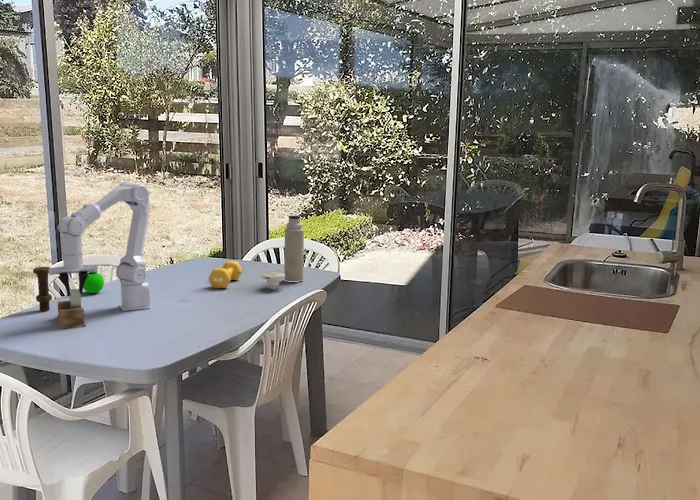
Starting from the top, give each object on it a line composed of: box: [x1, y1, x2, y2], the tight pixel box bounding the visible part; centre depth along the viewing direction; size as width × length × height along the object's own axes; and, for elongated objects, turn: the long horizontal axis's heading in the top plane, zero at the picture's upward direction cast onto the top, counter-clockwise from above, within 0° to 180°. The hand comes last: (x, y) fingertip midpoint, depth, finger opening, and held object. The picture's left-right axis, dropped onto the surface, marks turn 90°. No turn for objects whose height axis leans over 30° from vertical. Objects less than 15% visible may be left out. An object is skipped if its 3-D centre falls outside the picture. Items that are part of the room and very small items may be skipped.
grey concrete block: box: [68, 288, 82, 309], centre depth 213 cm, size 3×6×6 cm, turn 28°
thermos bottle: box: [283, 214, 305, 281], centre depth 276 cm, size 8×8×28 cm
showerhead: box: [260, 268, 285, 290], centre depth 263 cm, size 9×7×10 cm
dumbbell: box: [208, 260, 243, 289], centre depth 270 cm, size 19×9×8 cm, turn 170°
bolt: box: [32, 266, 53, 312], centre depth 224 cm, size 6×5×15 cm
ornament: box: [83, 272, 105, 294], centre depth 249 cm, size 8×8×10 cm
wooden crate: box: [56, 300, 87, 330], centre depth 214 cm, size 8×14×6 cm, turn 27°
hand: (74, 294), depth 213 cm, fingers closed on grey concrete block, 3 cm apart
